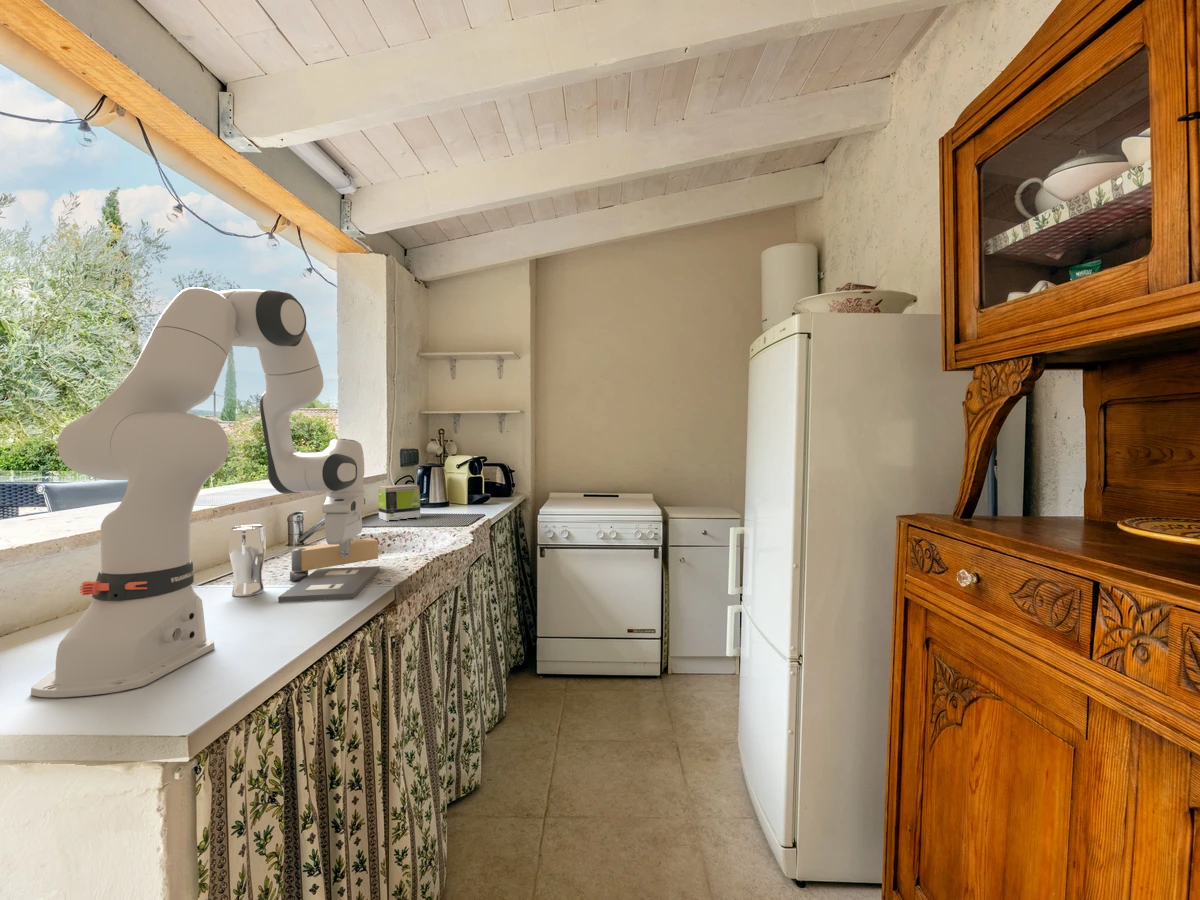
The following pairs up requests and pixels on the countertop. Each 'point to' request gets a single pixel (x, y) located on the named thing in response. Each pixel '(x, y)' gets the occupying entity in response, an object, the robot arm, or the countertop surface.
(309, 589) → the label panel
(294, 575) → the pivot post
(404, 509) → the tea box
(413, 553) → the countertop surface
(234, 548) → the beer glass
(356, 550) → the swing arm
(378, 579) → the countertop surface
